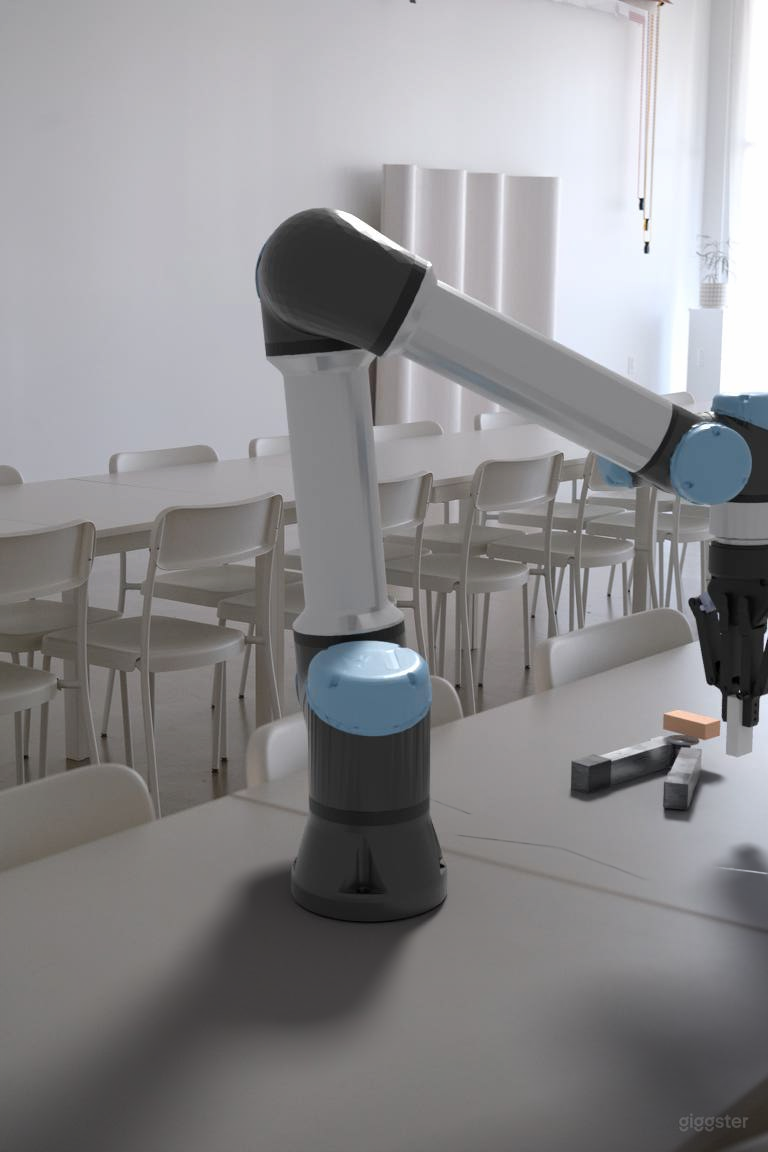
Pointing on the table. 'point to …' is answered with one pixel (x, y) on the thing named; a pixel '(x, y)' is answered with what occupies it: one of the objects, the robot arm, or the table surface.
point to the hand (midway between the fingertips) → (739, 752)
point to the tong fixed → (622, 764)
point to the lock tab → (691, 724)
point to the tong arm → (682, 773)
